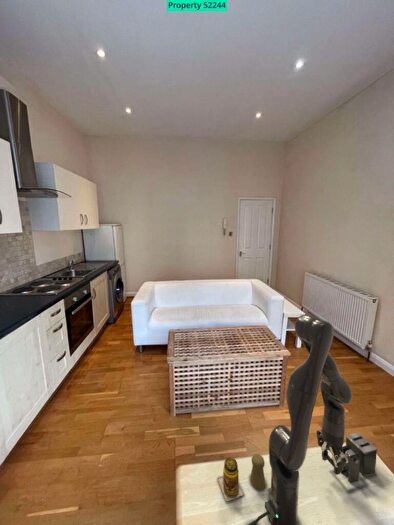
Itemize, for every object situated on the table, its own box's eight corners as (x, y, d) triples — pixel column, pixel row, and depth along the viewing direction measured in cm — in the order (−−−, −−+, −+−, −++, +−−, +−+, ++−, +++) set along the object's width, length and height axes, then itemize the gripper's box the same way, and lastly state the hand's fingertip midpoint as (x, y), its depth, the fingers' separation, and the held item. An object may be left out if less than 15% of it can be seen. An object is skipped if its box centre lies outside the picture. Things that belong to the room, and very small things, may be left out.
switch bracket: (348, 492, 87) (350, 463, 86) (331, 472, 95) (332, 445, 93) (367, 485, 89) (369, 457, 88) (349, 466, 97) (350, 439, 96)
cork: (265, 491, 88) (266, 466, 87) (250, 487, 89) (251, 463, 88) (264, 475, 94) (264, 452, 92) (249, 472, 95) (250, 449, 94)
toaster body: (362, 479, 92) (364, 452, 91) (344, 459, 100) (346, 435, 99) (375, 474, 94) (377, 448, 92) (356, 455, 102) (357, 431, 101)
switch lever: (334, 470, 86) (334, 465, 86) (324, 458, 91) (324, 453, 91) (358, 462, 89) (358, 457, 89) (347, 451, 94) (347, 446, 94)
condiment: (226, 502, 84) (226, 474, 83) (218, 479, 92) (218, 453, 91) (243, 495, 86) (243, 468, 85) (233, 473, 94) (233, 448, 93)
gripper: (311, 416, 93) (309, 452, 95) (341, 446, 79) (338, 488, 81) (326, 412, 95) (323, 448, 97) (357, 441, 81) (354, 482, 83)
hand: (330, 466), depth 89 cm, fingers closed on switch lever, 5 cm apart
